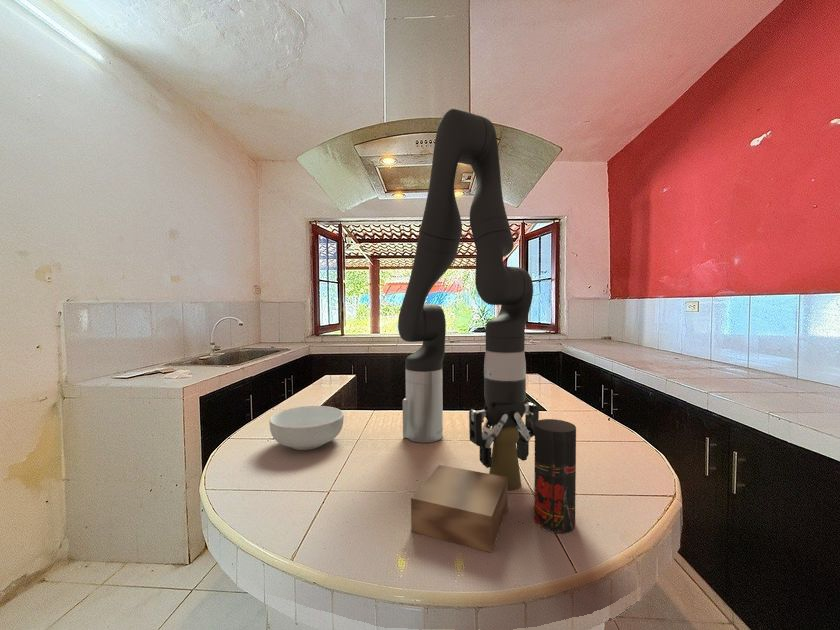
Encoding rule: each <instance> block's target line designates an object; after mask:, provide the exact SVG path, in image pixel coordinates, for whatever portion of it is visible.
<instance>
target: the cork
mask: <svg viewBox="0 0 840 630" xmlns="http://www.w3.org/2000/svg"><path fill="white" fill-rule="evenodd" d="M490 429H491V430H492V429H493V427H492V426H491V428H490ZM518 439H519V431H518V429H517V427H505V428H502V429H501V430H500V432H499V434H498V436H497V437H496V438H494V440H493V442H492V448H491V467H489V472H488V474H493V475H499V476H504V477H508V492H511V491H516V490H519V489H520V488H521V486H522V479H521V473H520V463H519V458H518V455H517V442H518Z"/></svg>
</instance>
